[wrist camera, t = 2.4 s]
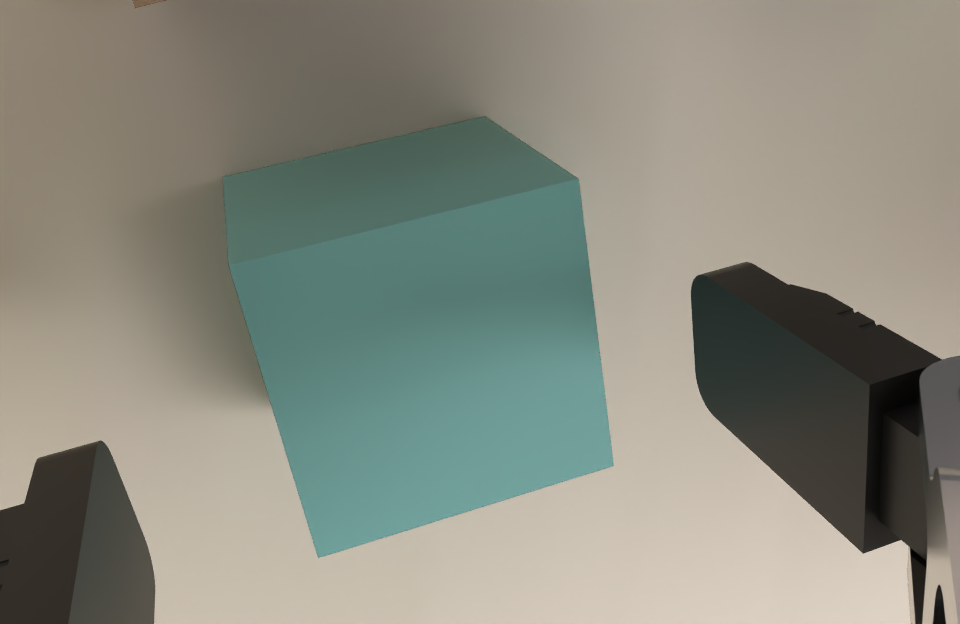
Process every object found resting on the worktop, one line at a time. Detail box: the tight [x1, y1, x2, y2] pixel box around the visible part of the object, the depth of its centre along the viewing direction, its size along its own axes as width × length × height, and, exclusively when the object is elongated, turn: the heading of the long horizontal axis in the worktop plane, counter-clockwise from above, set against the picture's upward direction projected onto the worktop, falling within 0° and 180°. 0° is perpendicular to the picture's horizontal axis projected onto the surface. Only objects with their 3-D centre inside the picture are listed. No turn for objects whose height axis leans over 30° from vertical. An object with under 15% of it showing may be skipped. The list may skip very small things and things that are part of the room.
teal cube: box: [223, 116, 614, 558], centre depth 16 cm, size 5×5×5 cm
